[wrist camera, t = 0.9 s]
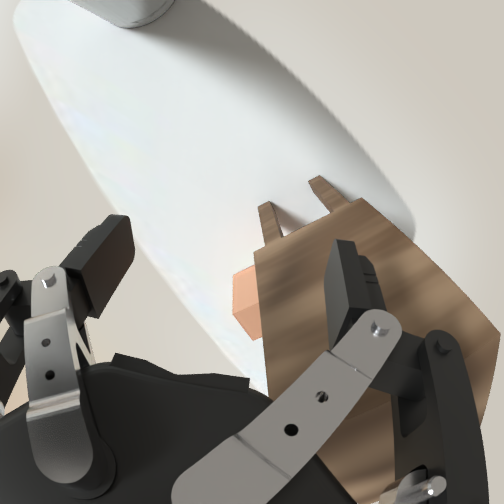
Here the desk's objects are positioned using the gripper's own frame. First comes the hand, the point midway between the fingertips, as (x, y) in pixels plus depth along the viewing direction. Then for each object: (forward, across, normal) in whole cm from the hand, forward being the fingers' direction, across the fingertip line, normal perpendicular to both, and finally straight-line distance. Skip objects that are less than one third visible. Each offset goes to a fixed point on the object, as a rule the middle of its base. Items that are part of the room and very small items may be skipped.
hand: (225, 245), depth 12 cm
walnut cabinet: (+22, -8, +15) cm, 28 cm away
